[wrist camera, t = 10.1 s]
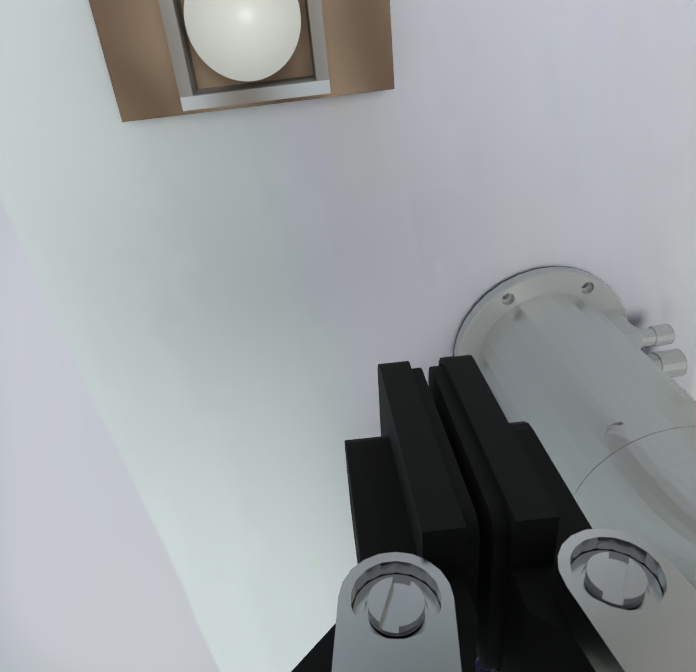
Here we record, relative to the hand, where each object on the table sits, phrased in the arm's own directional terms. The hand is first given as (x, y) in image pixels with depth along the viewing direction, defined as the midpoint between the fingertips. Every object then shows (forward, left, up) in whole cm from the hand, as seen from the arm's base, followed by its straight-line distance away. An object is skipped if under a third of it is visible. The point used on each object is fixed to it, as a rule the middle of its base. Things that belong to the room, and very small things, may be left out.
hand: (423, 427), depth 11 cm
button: (+3, -6, -24) cm, 25 cm away
